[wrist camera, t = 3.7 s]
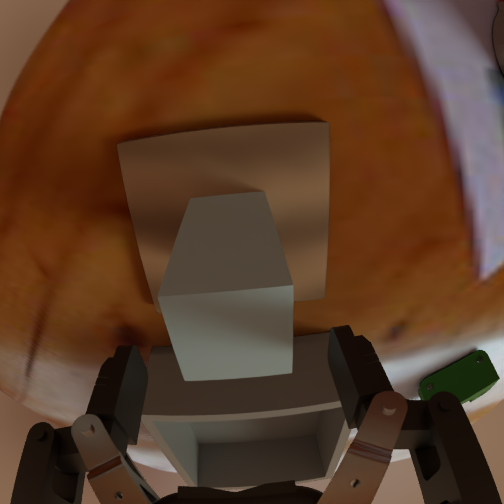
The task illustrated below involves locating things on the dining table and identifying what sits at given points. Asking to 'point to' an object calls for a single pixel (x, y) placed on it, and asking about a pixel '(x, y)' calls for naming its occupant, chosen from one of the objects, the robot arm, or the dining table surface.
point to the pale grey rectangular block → (229, 291)
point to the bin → (248, 421)
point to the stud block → (233, 190)
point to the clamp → (462, 378)
